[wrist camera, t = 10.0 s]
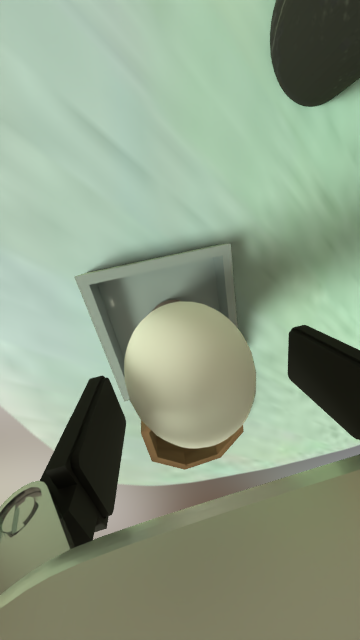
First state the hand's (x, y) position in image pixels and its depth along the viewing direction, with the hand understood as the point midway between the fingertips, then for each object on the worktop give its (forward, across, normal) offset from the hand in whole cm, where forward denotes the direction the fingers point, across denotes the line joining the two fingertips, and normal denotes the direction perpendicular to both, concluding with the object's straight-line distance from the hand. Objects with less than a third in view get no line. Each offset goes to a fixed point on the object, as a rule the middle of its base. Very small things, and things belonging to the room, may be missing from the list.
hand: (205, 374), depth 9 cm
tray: (+9, +1, 0) cm, 9 cm away
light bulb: (+8, +1, 0) cm, 8 cm away
